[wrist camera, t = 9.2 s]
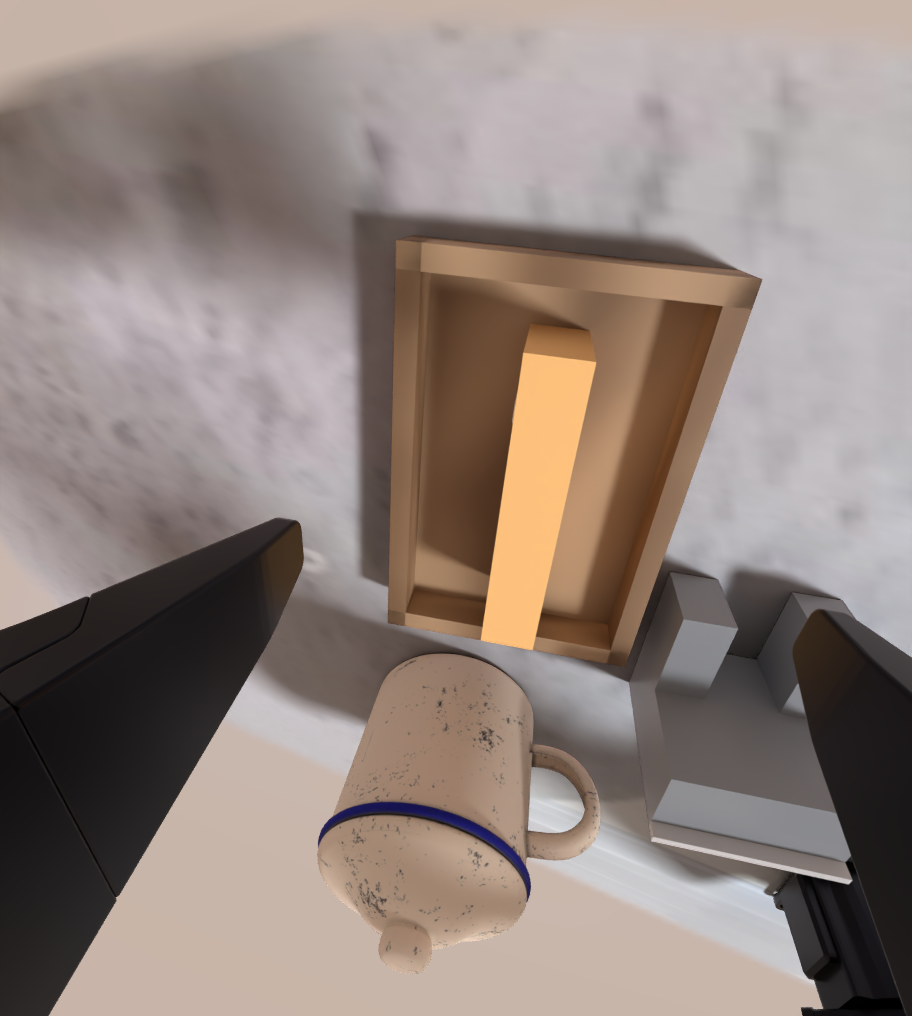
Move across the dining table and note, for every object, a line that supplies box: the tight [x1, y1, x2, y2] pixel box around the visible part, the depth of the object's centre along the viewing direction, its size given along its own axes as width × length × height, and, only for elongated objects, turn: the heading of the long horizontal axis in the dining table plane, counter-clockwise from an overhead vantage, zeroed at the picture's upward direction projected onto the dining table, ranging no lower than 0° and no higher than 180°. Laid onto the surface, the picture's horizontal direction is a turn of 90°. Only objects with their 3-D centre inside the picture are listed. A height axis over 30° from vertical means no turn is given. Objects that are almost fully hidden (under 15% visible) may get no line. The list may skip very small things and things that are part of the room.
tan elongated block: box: [481, 324, 596, 650], centre depth 19 cm, size 2×11×4 cm, turn 175°
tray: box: [388, 235, 762, 667], centre depth 20 cm, size 11×16×2 cm
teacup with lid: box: [317, 654, 600, 974], centre depth 24 cm, size 12×9×12 cm
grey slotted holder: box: [629, 572, 855, 884], centre depth 21 cm, size 7×7×8 cm
